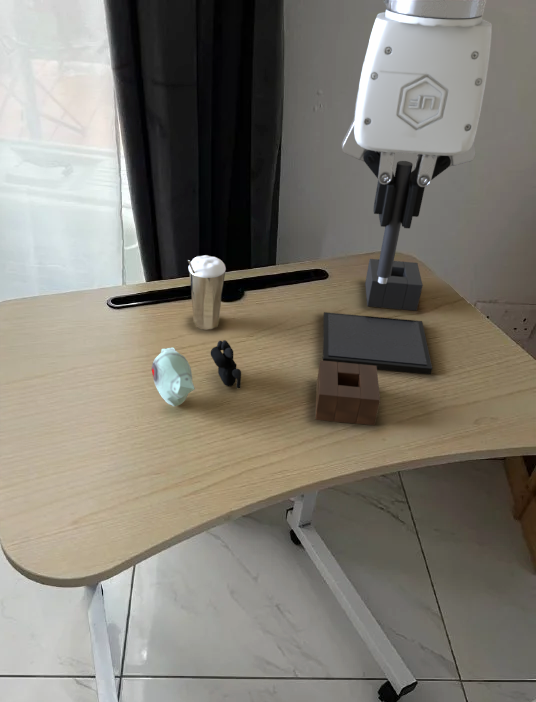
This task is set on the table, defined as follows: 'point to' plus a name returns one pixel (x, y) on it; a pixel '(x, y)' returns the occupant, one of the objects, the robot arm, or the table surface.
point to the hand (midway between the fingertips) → (394, 220)
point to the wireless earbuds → (226, 364)
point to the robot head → (172, 376)
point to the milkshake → (206, 290)
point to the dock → (394, 286)
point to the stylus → (394, 221)
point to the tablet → (376, 342)
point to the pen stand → (347, 393)
